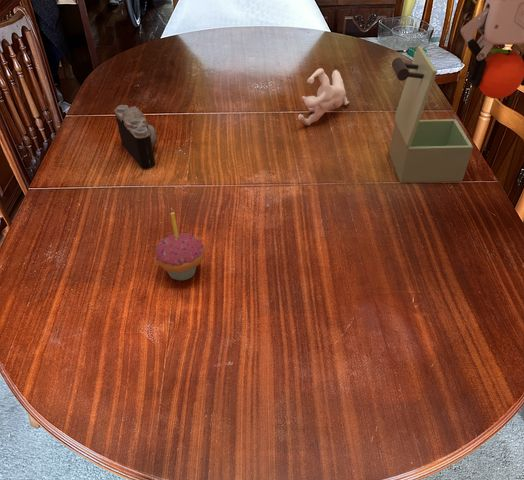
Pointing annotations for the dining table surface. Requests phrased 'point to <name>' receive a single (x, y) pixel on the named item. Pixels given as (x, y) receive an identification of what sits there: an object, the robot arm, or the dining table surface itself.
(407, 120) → the lid
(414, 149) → the green hollow rectangular box
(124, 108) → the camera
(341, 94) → the pale pink plastic figure
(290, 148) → the dining table surface
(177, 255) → the cupcake
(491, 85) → the clementine
